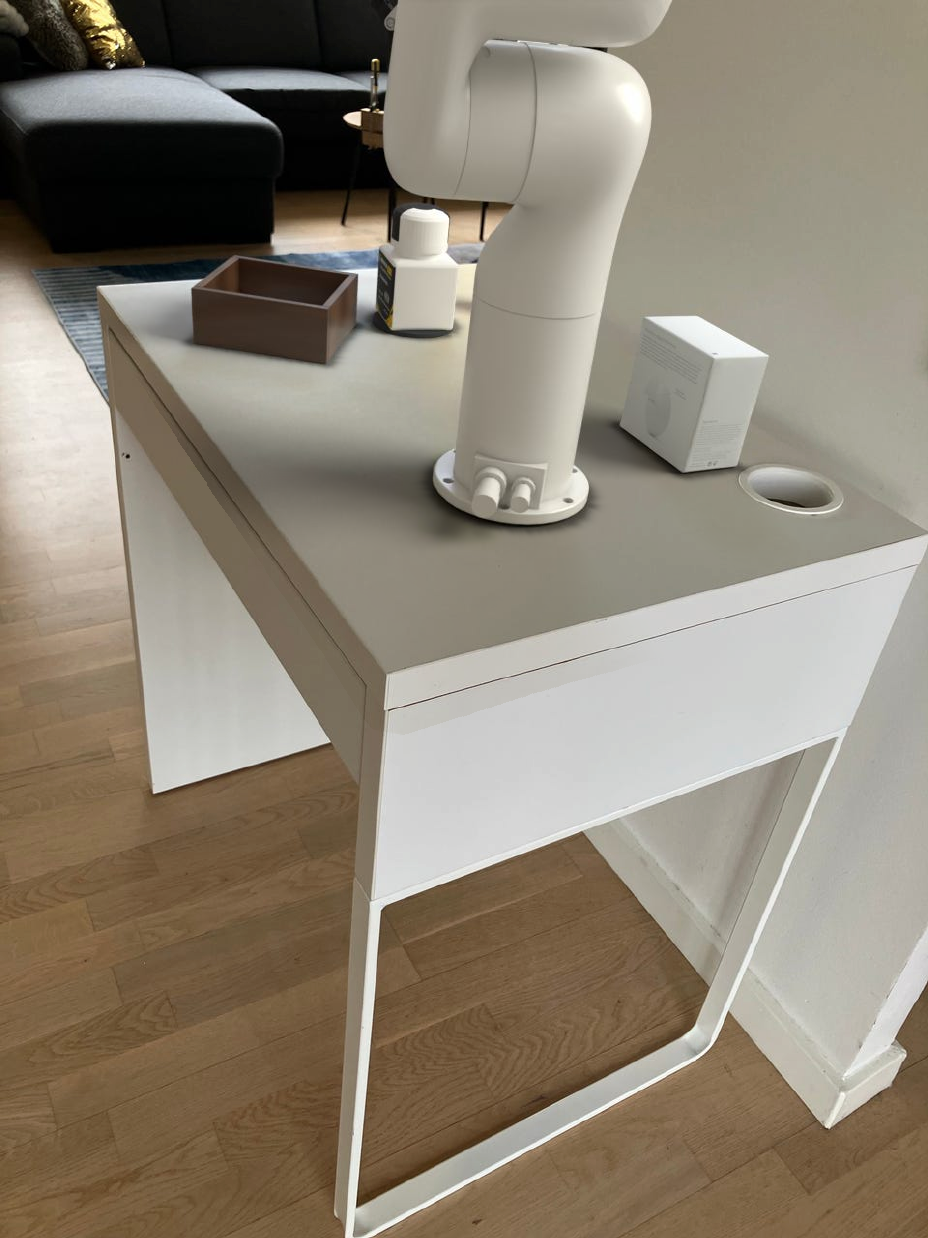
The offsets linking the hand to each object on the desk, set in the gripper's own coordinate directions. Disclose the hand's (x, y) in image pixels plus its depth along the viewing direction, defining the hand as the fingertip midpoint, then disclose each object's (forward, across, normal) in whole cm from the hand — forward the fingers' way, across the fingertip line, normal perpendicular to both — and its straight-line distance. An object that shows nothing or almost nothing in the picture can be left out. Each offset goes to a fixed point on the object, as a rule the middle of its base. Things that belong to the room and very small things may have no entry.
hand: (447, 84), depth 98 cm
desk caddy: (+24, -15, -6) cm, 29 cm away
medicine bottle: (+24, -2, +3) cm, 24 cm away
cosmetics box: (+25, +27, -19) cm, 41 cm away
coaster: (+24, -2, +4) cm, 25 cm away
